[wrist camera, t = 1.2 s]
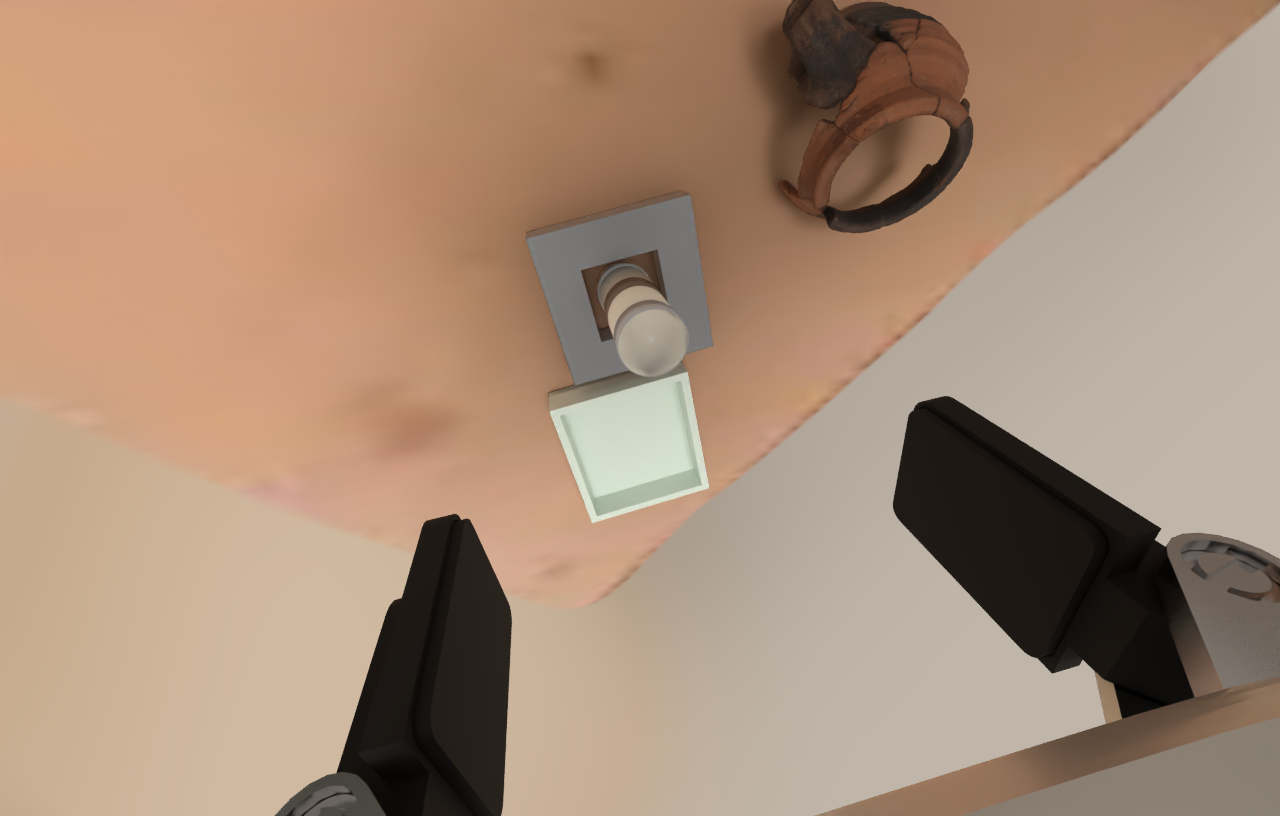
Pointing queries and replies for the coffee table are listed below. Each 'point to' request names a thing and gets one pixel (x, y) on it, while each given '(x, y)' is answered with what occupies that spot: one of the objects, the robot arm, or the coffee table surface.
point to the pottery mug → (873, 98)
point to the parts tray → (630, 440)
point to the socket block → (609, 239)
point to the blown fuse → (641, 320)
